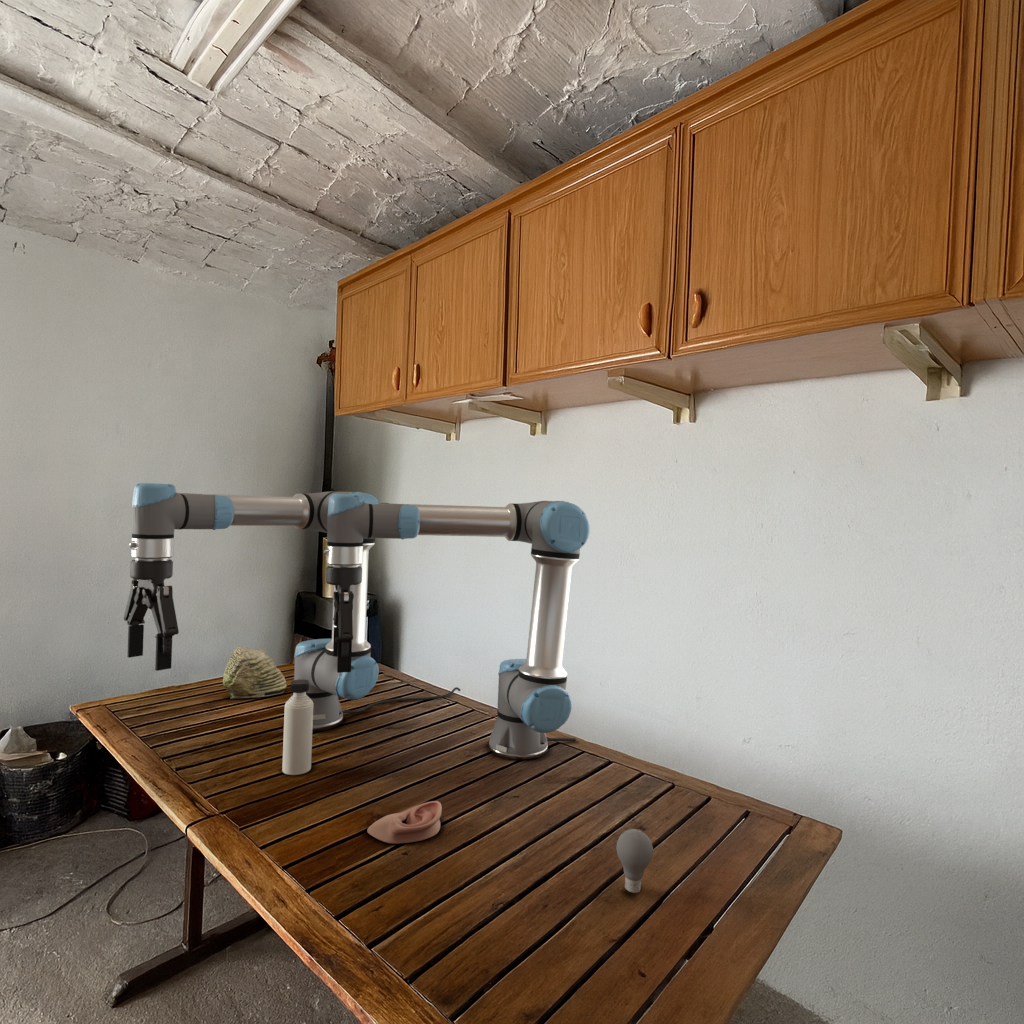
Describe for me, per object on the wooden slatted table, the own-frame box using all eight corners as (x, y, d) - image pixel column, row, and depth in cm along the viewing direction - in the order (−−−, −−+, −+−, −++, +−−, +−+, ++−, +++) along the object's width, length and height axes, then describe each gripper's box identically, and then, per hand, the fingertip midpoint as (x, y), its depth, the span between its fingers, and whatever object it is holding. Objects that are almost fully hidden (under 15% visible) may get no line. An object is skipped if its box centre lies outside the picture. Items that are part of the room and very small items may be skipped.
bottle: (303, 776, 143) (306, 688, 143) (276, 773, 144) (280, 686, 144) (315, 765, 149) (318, 680, 149) (290, 762, 150) (293, 678, 150)
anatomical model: (360, 817, 118) (385, 790, 129) (359, 839, 118) (384, 809, 129) (428, 828, 115) (447, 799, 126) (427, 850, 115) (446, 819, 126)
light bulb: (610, 879, 108) (613, 822, 108) (644, 879, 109) (647, 822, 109) (619, 902, 102) (622, 840, 102) (655, 901, 103) (658, 840, 103)
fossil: (218, 695, 195) (220, 647, 195) (278, 685, 208) (279, 640, 207) (228, 703, 189) (230, 653, 188) (289, 692, 201) (290, 645, 201)
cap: (303, 693, 144) (304, 684, 144) (287, 692, 145) (287, 683, 144) (311, 688, 148) (312, 680, 148) (295, 687, 149) (296, 678, 148)
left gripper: (108, 554, 134) (104, 654, 134) (159, 565, 118) (155, 678, 119) (146, 552, 140) (143, 648, 140) (199, 563, 124) (195, 671, 124)
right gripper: (323, 559, 147) (320, 650, 147) (329, 572, 123) (326, 680, 124) (356, 559, 149) (353, 649, 150) (368, 572, 126) (365, 678, 126)
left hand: (148, 662), depth 129 cm, fingers open, 13 cm apart
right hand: (341, 663), depth 137 cm, fingers open, 13 cm apart
